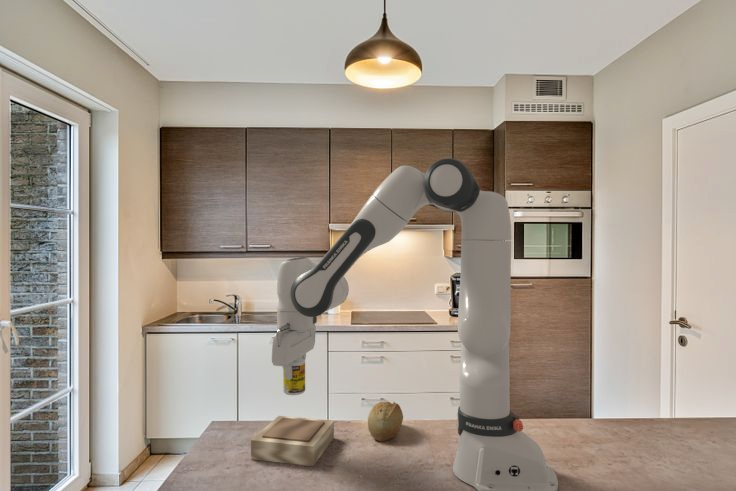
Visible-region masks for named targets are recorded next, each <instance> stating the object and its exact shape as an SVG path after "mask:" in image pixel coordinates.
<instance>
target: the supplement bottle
mask: <svg viewBox="0 0 736 491" xmlns="http://www.w3.org/2000/svg"><path fill="white" fill-rule="evenodd" d="M282 369H283V368H282ZM292 371H294V377H293V378H292V379H291V380H287V379H285V372H284V369H283V371H282V372H283V375H282V376H283V379H282V380H283V384H282V385H283V393H284V394H285V395H288V396H298V395H302V394H304V393H305V392H306V359H305V360H304V359H302V353H301V355H300V357H299V358H298V359H296V360H295V361H293V362H292Z"/></svg>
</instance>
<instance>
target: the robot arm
mask: <svg viewBox="0 0 736 491" xmlns="http://www.w3.org/2000/svg"><path fill="white" fill-rule="evenodd" d="M427 205H428V206H431V207H432V208H436V209H439V210H441V211H443V212H446V213H447V212H448V213H456V214H458V216H459V218H460V223H461V224H460V225H461V235H460V237H461V238H460V239H461V240H460V242H461V244H460V279H459V291H458V292H459V294H458V296H459V297H458V312H457V313H458V314H457V317H458V318H457V334H458V337H459V341H460V342H461V343H460V361H459V362H460V364H459V406H458V409H457V414H456V416H457V417H456V418H457V419H456V420H457V421H456V423H457V424H456V425H457V434H458V437H457V438H458V441H457V448H456V453H455V459H454V461H453V464H452V472H453V474H454V475H455V476H456V478H458V479H459V480H460V481H462V482H463V483H465V484H467V485H470V486H472V487H473V488H475V489H476V490H477V491H558V490H559V481H558V476H557V474H556V471H554V469H553V467H552V466H551V465H549V464H548V463H547V461H546V457H545V454H544V451H543V450H542V448H541V446H540V445H539V444H538V443H537V441H535V440H534V439H532V437H530V436H528V435H527V434H526V433H525V432H523V430H524V425H523V421H522V420H520V417H519V415H517V413H516V410H514V411H512V410H510V409H511V406H510V405H511V401H510V400H511V399H510V394H511V392H510V390H511V389H510V386H511V380H510V379H511V378H510V377H511V376H510V374H511V373H510V338H511V332H512V331H511V330H512V329H511V328H512V327H511V324H512V323H511V319H512V318H511V317H512V316H511V315H512V314H511V312H512V307H511V306H512V305H511V304H512V303H511V302H512V301H511V299H512V295H511V294H512V293H511V292H512V291H511V287H512V286H511V283H512V282H511V281H512V280H511V277H512V276H511V271H512V267H511V266H512V225H511V215H510V209H509V203H508V201H507V199H506V198H505V197H504V195H502V194H500V193H498V192H495V191H489V190H486V191H484V190H481V188H480V186H479V184H478V182H477V180H476V179H475V177H474V175H473V173H472V171H471V170H470V169H469V167H468V166H467V165H466V164H465V163H464V162H463V161H461V160H458V159H454V158H452V157H451V158H447V157H446V158H442V159H439V160H436V161H435V162H433V163H432V164H431V165H430V166H429V167H428V169H427V170H426V172H422V171H421V170H419V169H417V168H416V167H413V166H411V165H400V166H398V167H397V168H395V169H394V170H393V171H392V172H391V173H389V175H387V177H386V178H385V179H384V180H383V181H382V182H380V184H379V185H378V186H377V187H376V189H375V190H374V191H373V193H371V195H370V196H369V198H368V199H367V201H366V202H365V204H364V205H362V208H360V211H359V212H358V214H357V215H356V216H355V217H354V218H353V221H352V222H351V223H350V224H349V226H348V227H347V229H346V231H344V233H343V234H342V235H341V236H340V237H339V238H338V239H337V240H336V242H335V243H333V245H332V246H331V248H330V249H328V251H327V252H326V254H324V256H322V258H321V259H320V261H319V262H318V263H317V264H316V263H315V262H313V261H312V260H311V259H310V258H309V257H305V256H302V257H299V256H298V257H292V258H289V259H286V260H283V261H281V263H280V264H279V266H278V269H277V270H278V271H277V282H276V293H277V294H276V295H277V297H278V303H277V308H276V324H277V325H276V326H277V327H276V328H277V329H278V330H277V332H276V333H275V334H274V336H273V339H272V346H271V362H272V366H274V367H282V369H284V372H285V379H287V380H291V379H292V378H293V377H294V371H292V362H293V361H295V360H296V359H298V358H299V357H300V355H301V353H302V359H304V360H305V361H306V358H307V353H309V352H310V351H312V350H313V349H314V348H315V345H316V333H317V330H316V326H317V325H316V324H317V323H318V316H321V315H322V314H324V313H326V312H327V311H330V310H333V309H334V308H337V307H338V306H340V305H342V304H343V303H344V302H345V301H346V300H347V297H348V295H349V292H350V291H349V283H348V281H347V279H346V278H345V275H346V274H348V272H349V270H350V269H351V268H352V267H353V266H354V265H355V263H356V262H357V261H358V260H359V259H360V258H361V257H362V256H364V254H366V253H367V252H369V251H371V250H374V249H375V248H377V247H380V246H383V245H385V244H387V243H389V242H390V241H391V240H393V239H394V238H395V237H396V236H398V235H399V233H401V232H402V231H403V230H404V228H405V227H406V226H407V225H408V223H409V222H410V221H411V219H412V218H413V217H414V215H416V214H417V212H418V211H419V210H420V209H421V208H423V207H424V206H427Z"/></svg>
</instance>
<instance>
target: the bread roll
mask: <svg viewBox="0 0 736 491" xmlns="http://www.w3.org/2000/svg"><path fill="white" fill-rule="evenodd" d="M403 421H404V414H403V411H402V409H401V406H400V404H399V403H396V402H395V401H393V403H391V402H389V401H382V402H381V401H380V402H378V403H376V404H375V405H374V406H372V408H371V410H370V411H369V414H368V417H367V427H368V432H369V433H370V436H371V437H372V438H373V439H375V440H376V441H378V442H385V441H386V442H387V441H389V440H391V439H392V438H393V437H394V438H395V436H396V434H397V433H398V432H399V430H400V428H401V426H402V424H403Z"/></svg>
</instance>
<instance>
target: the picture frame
mask: <svg viewBox="0 0 736 491" xmlns="http://www.w3.org/2000/svg"><path fill="white" fill-rule="evenodd" d="M334 439H335V421H334V420H329V419H317V418H307V417H298V416H285V415H278V416H277V417H275V418H274V419H273V420H272V421H271V422H270V423H268V424H267V425H266V426H265V427H264V428H263V429H262V430H261V431H260V432H258V433H257V434H256V435H255V436H254V437H252V439H250V460H256V461H257V460H258V461H265V462H266V461H267V462H275V463H282V464H292V465H301V466H305V467H306V466H308V467H314V466H315V465H316V463H317V462H318V461H319V460H320V458H321V457H322V455H323V454H324V452H325V451H326V450H327V448H328V447H329V446H330V444H331V442H332V441H333V440H334Z"/></svg>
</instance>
